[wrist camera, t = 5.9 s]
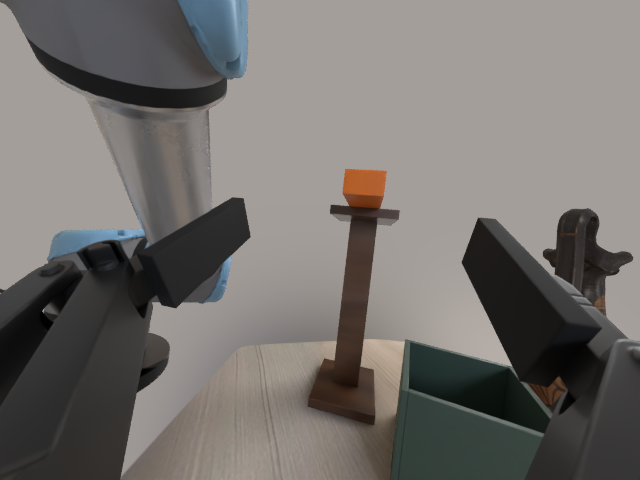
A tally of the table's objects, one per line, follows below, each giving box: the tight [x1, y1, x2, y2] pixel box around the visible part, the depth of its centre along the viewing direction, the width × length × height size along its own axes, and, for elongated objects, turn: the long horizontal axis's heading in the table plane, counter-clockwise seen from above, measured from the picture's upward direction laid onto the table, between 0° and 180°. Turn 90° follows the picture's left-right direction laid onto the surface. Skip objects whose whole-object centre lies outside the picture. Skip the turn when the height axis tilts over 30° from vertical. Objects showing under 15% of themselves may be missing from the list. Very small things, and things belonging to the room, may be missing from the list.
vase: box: [527, 208, 633, 414], centre depth 27 cm, size 12×12×30 cm
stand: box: [308, 205, 400, 425], centre depth 36 cm, size 11×9×28 cm
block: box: [343, 169, 387, 209], centre depth 31 cm, size 18×4×2 cm, turn 168°
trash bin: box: [390, 340, 553, 480], centre depth 24 cm, size 12×12×11 cm
